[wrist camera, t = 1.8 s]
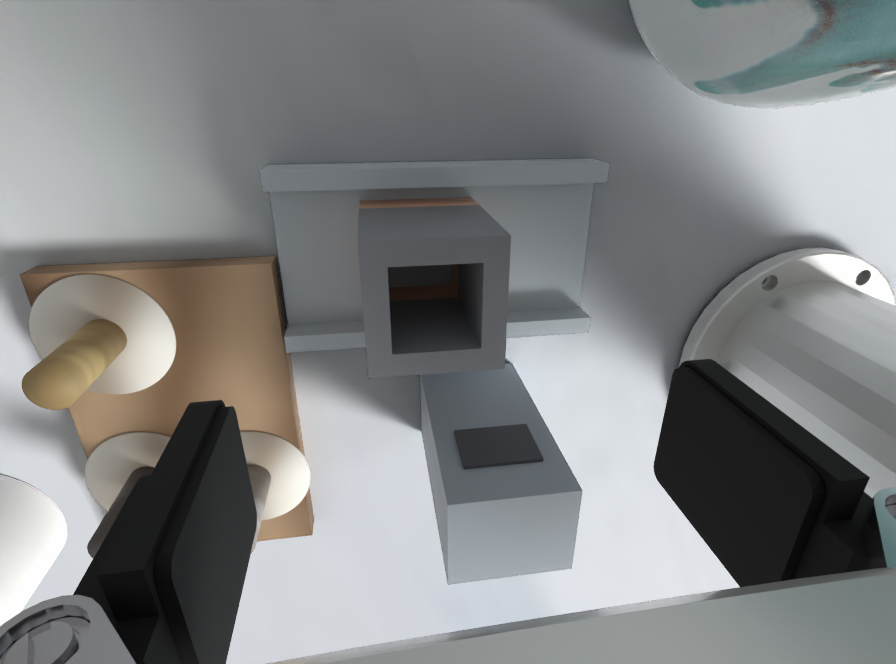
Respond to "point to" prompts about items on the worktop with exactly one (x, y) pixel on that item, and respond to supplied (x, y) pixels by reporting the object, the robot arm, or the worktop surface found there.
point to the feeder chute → (338, 273)
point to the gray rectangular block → (496, 477)
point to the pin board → (170, 372)
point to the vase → (773, 48)
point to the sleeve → (433, 287)
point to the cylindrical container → (26, 542)
